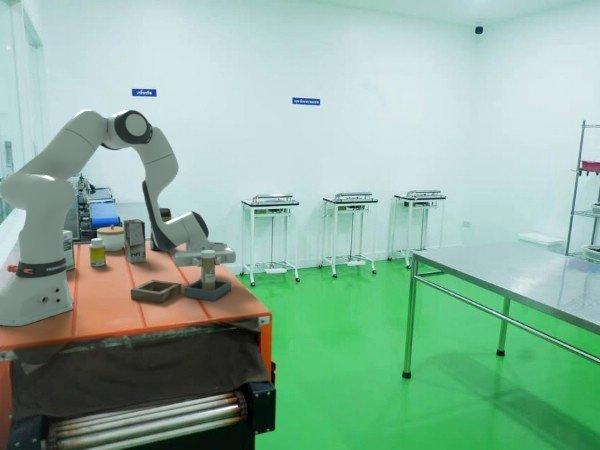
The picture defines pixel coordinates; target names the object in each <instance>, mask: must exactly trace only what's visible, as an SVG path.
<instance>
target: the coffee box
mask: <svg viewBox="0 0 600 450" xmlns="http://www.w3.org/2000/svg"><path fill="white" fill-rule="evenodd" d="M122 222H123V227H124V244H125V246H124V257H125V260H127V261H128V262H129V263H131V264H133V263H140V262H141V263H142V262H146V261H147V258H146V257H147V256H146V255H147V253H146V250H147V249H146V248H147V247H146V226H145V225H146V222H145V221H142V220H141V219H139V218H138V219H137V218H136V219H135V218H134V219H128V220H123V221H122Z"/></svg>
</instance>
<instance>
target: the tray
mask: <svg viewBox="0 0 600 450" xmlns="http://www.w3.org/2000/svg"><path fill="white" fill-rule="evenodd" d="M230 292H232V282H231V281H224V280H218V279H215V290H214V291H210V290H203V289H202V278H199V279H198V280H196V281H194V282H192V283H190V284H188V285H187V286H184V287H183V297H184V298H190V299H197V300H201V301H202V300H203V301H209V302H214V303H215V302H217V301H218V300H219V299H220V298H222V297H224V296H226V295H228V293H230Z"/></svg>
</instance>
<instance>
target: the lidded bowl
mask: <svg viewBox="0 0 600 450" xmlns="http://www.w3.org/2000/svg"><path fill="white" fill-rule="evenodd" d="M96 235H97V237H96V238H101V239H102V241H103V244H105V252H117V251H121V250H123V248H125V244H124V226H114V224H111V225H110V226H107V227H105V226H104V227H100V228H97V230H96Z"/></svg>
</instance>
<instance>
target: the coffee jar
mask: <svg viewBox="0 0 600 450" xmlns="http://www.w3.org/2000/svg"><path fill="white" fill-rule="evenodd" d="M159 210H160V214H161V218H162V221H163V222H167V221H169V220H172V213H171V212H172V211H171V209H170V208H168V207H159ZM148 219H149V222H150V241H149V245H150V246H149V247H150V249H151V250H152V251H153V250H154V251H162V250H161V249H159V248H158V247H157V246H156V244H155V242H154V239H153V231H152V224H151V221H150V218H149V217H148Z"/></svg>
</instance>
